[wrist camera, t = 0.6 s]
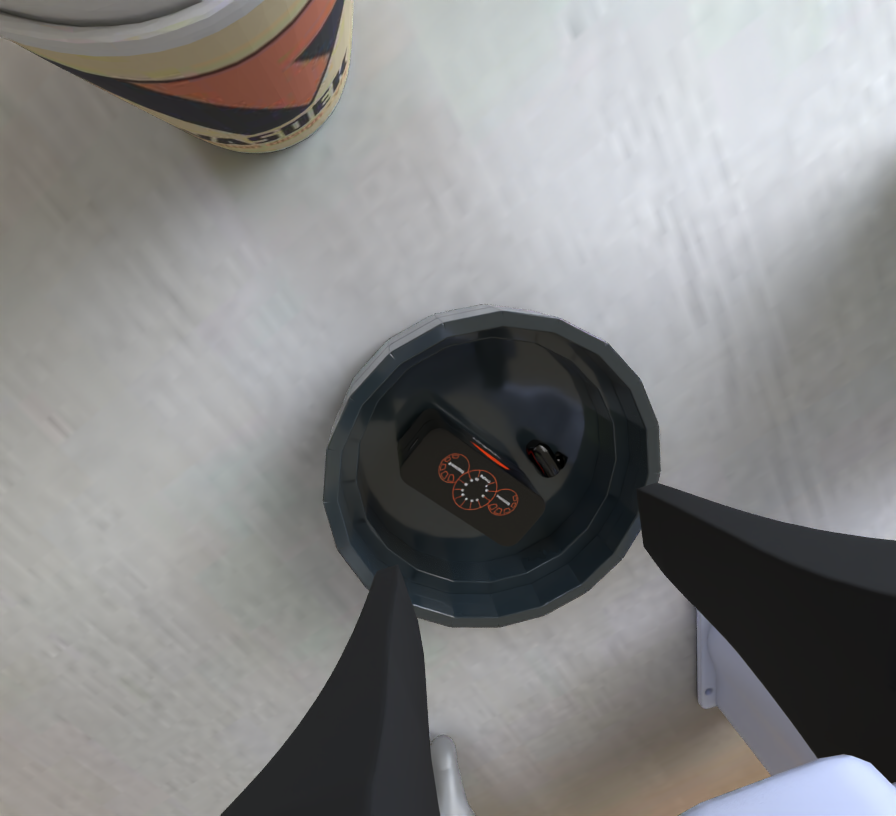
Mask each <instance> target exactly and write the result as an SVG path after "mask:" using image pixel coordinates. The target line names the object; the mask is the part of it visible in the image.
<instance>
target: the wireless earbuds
mask: <svg viewBox="0 0 896 816" xmlns="http://www.w3.org/2000/svg"><path fill="white" fill-rule="evenodd" d="M397 451H398V461H399V470H400V477H401V479H402V480H403V481H404V482H405V483H406V484H407V485H409V486H410V487H412V488H413V489H415V490H417V491H418V492H420V493H421V494H423V495H424V496H426V497H427V498H429V499H430V500H432V501H433V502H435V503H437V504H438V505H440V506H441V507H443V508H444V509H446V510H447V511H449V512H450V513H452V514H453V515H455V516H457V517H458V518H460V519H461V520H463V521H464V522H466V523H467V524H469V525H470V526H472V527H473V528H475V529H477V530H478V531H480V532H481V533H483V534H484V535H486V536H487V537H489V538H490V539H492V540H493V541H495V542H497V543H498V544H500V545H502V546H507V547H508V546H512V545H515V544H516V543H518V542H519V541H520V540H521V539H522V537H523V536H524V535H525V534H526V533H527V532H528V531H529V529H530V528H531V527H532V526H533V525H534V524H535V523H536V521H537V520H538V519H539V518H540V517H541V516H542V514H543V513H544V511H545V501H544V499H543V498H542V497H541V495H540V494H539V492H538V491H537V490H536V488H535V487H534V485H533V484H532V483H531V481H530V480H529V478H528V477H527V476H526V474H525V473H524V472H523V471H522V470H520V469H519V468H518V467H516V466H515V465H514V464H512V463H511V462H509V461H508V460H507V459H505V458H504V457H503V456H501V455H500V454H498V453H497V452H496V451H494V450H493V449H491V448H490V447H489V446H487V445H486V444H485V443H483V442H482V441H480V440H479V439H478V438H476V437H475V436H474V435H472V434H471V433H469V432H468V431H467V430H465V429H464V428H463V427H461V426H460V425H458V424H457V423H456V422H454V421H453V420H452V419H450V418H449V417H447V416H446V415H445V414H443V413H442V412H441V411H439V410H437V409H434V408H429V409H426V410H424V411H423V412H422V413H421V414H420V415H419V416H418V417H417V419H416V420H415V421H414V422H413V424H412V425H411V426H410V427H409V429H408V430H407V431H406V433H405V434H404V435H403V436H402V438H401V439H400V441H399V442H398V446H397ZM526 456H527V457H528V459H529V460H530V462H531V463H532V465H533V466H534V468H535V470H536V471H537V473H538V474H539V475H541V476H542V477H544V478H551V477H554V476H555V475H557V474H558V473H559V472H560V470H561V469H563V468H564V467H565V465H566V463H567V460H568V456H566V455H565V454H564V453H562V452H559V451H557V452H555V454H554V453H553V451H552V450H551V448H550V447H549V446H548V445H547V444H546V443H544V442H543V441H540V440H536V439H533V440H531V441H530V442H529V443H528V444H527V445H526Z"/></svg>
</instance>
